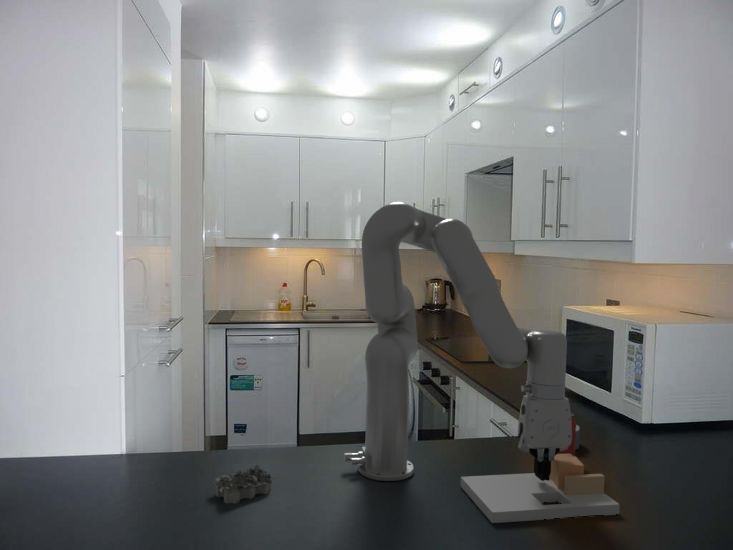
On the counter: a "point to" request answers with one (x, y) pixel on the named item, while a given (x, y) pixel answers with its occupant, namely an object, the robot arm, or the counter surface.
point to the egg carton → (243, 484)
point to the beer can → (572, 446)
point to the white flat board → (538, 496)
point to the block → (565, 469)
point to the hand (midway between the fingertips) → (541, 477)
